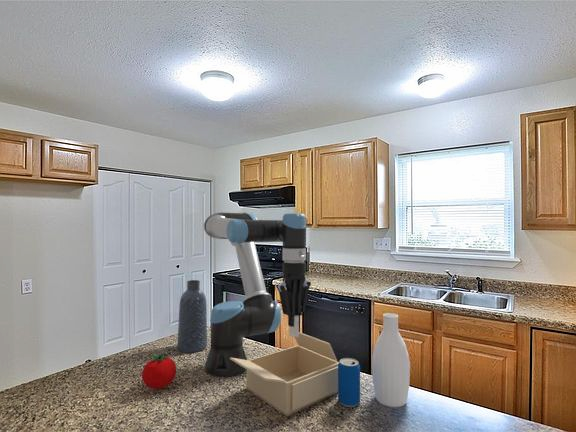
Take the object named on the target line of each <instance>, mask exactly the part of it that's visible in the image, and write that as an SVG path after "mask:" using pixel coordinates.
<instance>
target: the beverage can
mask: <svg viewBox="0 0 576 432" xmlns="http://www.w3.org/2000/svg"><path fill="white" fill-rule="evenodd" d="M339 362H340V363H339V364H338V393H337V400H338V402H339V403H340V404H341V405H342V406H344V407H345V408H355V407H357V406H358V405H359V404H360V403H361V365H360V363H359V361H358V360H357V359H355V358H352V357H351V358H350V357H344V358H343V357H342V358H341V359H339Z"/></svg>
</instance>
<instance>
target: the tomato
mask: <svg viewBox="0 0 576 432" xmlns="http://www.w3.org/2000/svg"><path fill="white" fill-rule="evenodd" d="M151 357H152V358H151V359H149V360H148V362H146V363H145V365H144V367H143V369H142V372H141V379H142V382H143V384H145V386H146V387H147V388H150V389H153V390H160V389H164V388H165V387H167V386H169V385H170V384H171V383H172V382H173V381H174V379H175V378H176V375H177V366H176V362H175V361H174V360H173V359H172V358H171V357H170V355H167V356H164V353H161V354H160V355H158V356H156V355H151Z"/></svg>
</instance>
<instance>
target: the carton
mask: <svg viewBox="0 0 576 432" xmlns="http://www.w3.org/2000/svg"><path fill="white" fill-rule="evenodd" d="M248 360H249V361H250V362H252V363H254V364H256V365H257V366H259V367H261V368H263V369H264V370H266V371H268V372H270V373H272V374H273V375H275V376H277V377H279V378H280V379H282V380H284V383H283V382H275V381H267V380H264V379H262V378H260V377H259V376H257V375H255V374H254V373H252V372H250V371H249V370H247V369H246V390H247V391H249V393H251V394H253V395H255V397H257V398H259V399H260V400H262V401H263V402H264V403H265V404H266V403H267V405H269V406H271V407H272V408H273V409H274V410H277V411H278V412H279V413H281V415H284V416H285V417H287V418H288V417H289V416H291V415H294V414H295V413H299V411H302V410H304V409H306V408H309V407H311V406H313V405H315V404H317V403H319V402H322V401H324V400H325V399H327V398H329V397H333V396H334V395H336V394H338V364H339V363H340V361H338V360H337V361H335V360H332V359H330V358H327V357H325V356H323V355H320V354H318V353H315V352H313V351H311V350H308V349H306V348H303V347H301V346H299V345H298V344H297V345H295V346H291V347H288V348H285V349H281V350H278V351H275V352H272V353H268V354H264V355H261V356H258V357H255V358H251V359H248Z"/></svg>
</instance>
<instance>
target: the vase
mask: <svg viewBox="0 0 576 432" xmlns="http://www.w3.org/2000/svg"><path fill="white" fill-rule="evenodd" d="M200 282H201V281H200V280H195V279H191V280H187V282H186V284H187V285H186V287H187V288H186V290H185V291H184V292H183V293H182V295H181V297H180V298H179V309H178V324H177V325H178V328H177V347H176V348H177V350H178V351H179V352H182V353H196V352H200V351H203V350H205V349H206V348H207V347H208V323H207V322H208V321H207V320H208V319H207V318H208V317H207V315H208V314H207V313H208V312H207V311H208V310H207V297H206V294H205V293H204V292H203V291H202V289H200V287H201V286H200V285H201V283H200Z"/></svg>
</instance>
